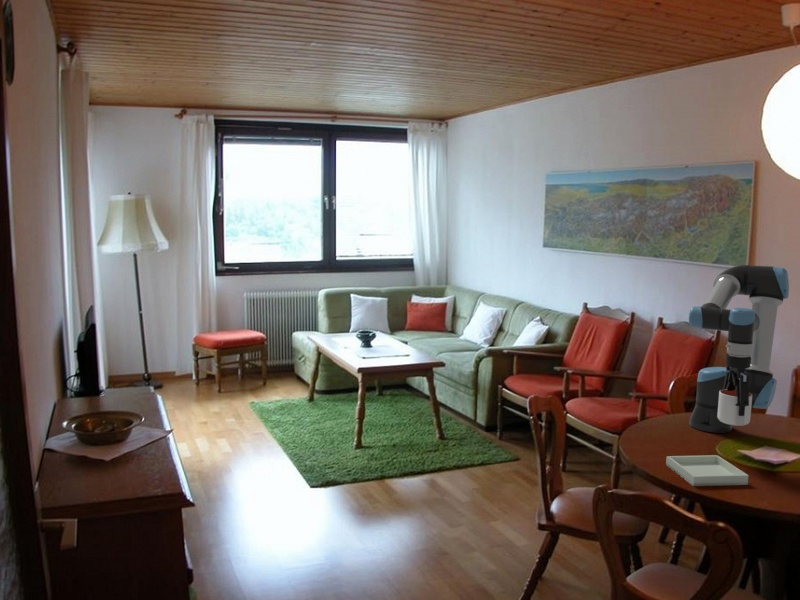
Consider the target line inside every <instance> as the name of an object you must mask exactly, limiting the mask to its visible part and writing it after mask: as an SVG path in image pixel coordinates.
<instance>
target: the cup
mask: <svg viewBox="0 0 800 600" xmlns="http://www.w3.org/2000/svg"><path fill="white" fill-rule="evenodd" d="M735 404H737V395H736V390H734V391H728V390H727V389H725V390H720V391H719V402H718V414H717V417H718V419H719V420H720V421H721V422H723V423H726V424H729V425H732V426H739V427H740V426H746V425H749V423H750V422H751V417H752V416H751V415H752V407H751V405H752V394H750V393H749V406H746V407H745V419H744V425H735V413H736V406H735Z"/></svg>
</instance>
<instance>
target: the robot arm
mask: <svg viewBox="0 0 800 600" xmlns="http://www.w3.org/2000/svg"><path fill="white" fill-rule="evenodd" d="M789 284H790V283H789V273H788V270H787V269H786V268H785V267H778V266H770V265H769V266H768V265H767V266H766V265H749V264H741V265H736V266H733V267H730V268H728V269H725V270H724V271H722V272H721V273H719V274H718V276H717V277H716V278H715V279H714V281H713V286H712V287H713V288H712V290H710V292H709V294H708V296H707V297H706V298H705V300H704V302H703V304H702V305H701V306H699V305H698V306H691V308H690V310H689V313H688V314H689V315H688V324H689V326H690V327H691V328H697V329H699V330H701V329H704V330H711V331H712V330H716V331H723V332H727V344H725V348H726V353H727V354H726V356H725V365H726V367H725V366H724V367H723V366H710V367H704V368H702V369H700V370H699V371H698V375H697V380H696V382H697V383H696V396H695V406H694V408H693V411H692V412H691V415H690V418H689V423H688V425H689V426H690V427H692V428H694V429H697V430H698V431H702V432H706V433H707V432H709V433H718V434H719V433H720V434H723V433H724V434H725V433H729V432H731V431H733V425H729V424H726V423H723V422H721V421H720V420H719V419H718V417H717V414H718V402H719V391H720V390H725V389H727V390H728V391H734V390H736V395H737V404H735V406H736V413H735V425H734V426H737V425H742V426H745V425H744V419H745V407H746V406H749V393H750V394H752V405H751V408H754V409H763V410H766V409H768V408H769V407H770V406H771V405H772V403H773V400H774V398H775V393H776V389H777V385H778V383H777V382H778V381H777V379H776V378H774V377H773V376H774V373H773V372H772V371H771V369H770V367H771V365H770V364H771V360H772V351H773V344H774V337H775V336H774V335H775V330H776V329H775V328H776V321H777V314H778V308H779V306H781V305H783V304H784V300H787V299H788V298H789V293H790V291H789V290H790V288H789V287H790V285H789ZM738 295H743V296H749V297H748V300H749V302H750V303H751V304H752V306H751V308H747V307H733V308H731V309H727V307H728V306H729V305H730V302H731V301H732V299H733V298H734V297H735V296H738Z"/></svg>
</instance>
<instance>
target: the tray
mask: <svg viewBox="0 0 800 600" xmlns="http://www.w3.org/2000/svg"><path fill="white" fill-rule="evenodd" d="M665 461H666V462H665V466H667V467H668V468H669V469H670V468H671V470H672V471H673V472H674V471H675V472H674V473H676V475H678V476H679V475H680V476H679V477H681V478H682V479H683V478H684V479H683V480H685V481H686V482H687V483H688V484H690V486H692V487H712V486H713V487H714V486H746V485H747V486H748V485H749V474H747V473H746V472H744V471H743V470H741V469H739V468H737V467H736V466H735V465H733V464H732V463H730V462H728V461H727V460H726V459H724V458H722V457H720V456H719V455H718V454H717V455H715V454H711V455H671V456H666V459H665Z"/></svg>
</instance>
